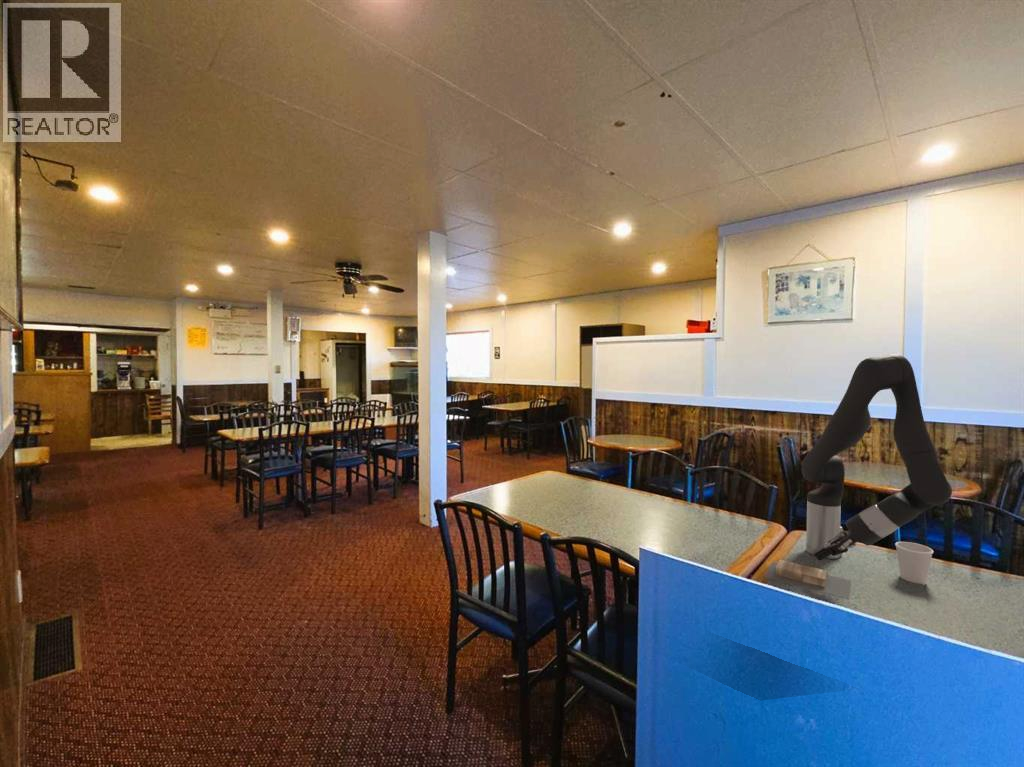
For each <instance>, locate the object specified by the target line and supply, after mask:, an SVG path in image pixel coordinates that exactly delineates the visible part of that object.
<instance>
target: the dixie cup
mask: <svg viewBox="0 0 1024 767" xmlns="http://www.w3.org/2000/svg"><path fill="white" fill-rule="evenodd" d="M894 545H895V547H896V554H897V562H898V563H897V564H898V569H899V570H898V571H899V577H900V578H901V579H903V580H904V581H907V582H910V583H913V584H920V585H921V584H922V585H923V586H926V585H927V581H928V577H929V576H928V575H929V573H930V567H931V562H932V557H933V554H934V550H933V549H932V548H931V547H928V546H926V545H924V544H920V543H916V542H910V541H896V543H894ZM925 584H926V585H925Z"/></svg>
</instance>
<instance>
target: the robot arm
mask: <svg viewBox="0 0 1024 767" xmlns="http://www.w3.org/2000/svg"><path fill="white" fill-rule="evenodd" d="M883 390H885V391H886V390H890V391H891V392H892V394H893V397H894V399H895V405H896V408H895V409H896V410H895V411H896V412H895V417H894V422H893V429H892V430H893V431H892V434H893V439H894V442H895V445H896V447H897V451H898V452H899V454H900V458H901V459H902V461H903V464H904V466H905V468H906V472H907V476H908V480H909V483H910V484H908V485H907V486H905V487H904V488H901V489H900V490H899V491H898V492H896V493H894V494H891V495H889V496H887V497H885V498H884V499H882V500H881V501H878V502H877V503H876V504H874V505H871V506H868V507H867V508H865V509H863V510H861V511H860V512H859V513H856V514H855V515H854V516H852V517H850V518H848V519H847V520H846V521H845V526H846V527H847V530H844V529H843V527H842V526H841V510H842V509H841V505H842V499H843V497H844V484H845V473H846V472H845V471H846V470H845V464H844V461H843V460H842V458H841V457H839V456H838V455H839V454H840V453H842V452H844V451H846V450H849V449H850V448H852V447H853V446H855V445H857V444H858V443H859V442H860V441H861V440H862V438H863V437H864V436H865V434H866V433H867V431H868V430H869V428H870V426H871V423H872V422H871V414H870V411H869V405H870V403H871V401H872V400H873V398H874V397H875V396H876V394H878V393H879V392H880V391H883ZM923 415H924V414H923V411H922V406H921V400H920V394H919V391H918V386H917V381H916V376H915V372H914V369H913V366H912V364H911V362H910V361H909V360H908V359H907V357H905V356H904V355H901V354H897V353H893V354H885V355H879V356H873V357H868V358H864V359H863V360H862V361H860V362H859V363H858V364H857V365H856V368H855V370H854V371H853V374H852V376H851V379H850V381H849V384H848V387H847V389H846V391H845V393H844V396H843V397H842V399H841V401H840V402H839V405H838V407H836V410H835V411H834V413H833V415H832V416H831V418H830V420H829V421H828V423H827V425H826V426H825V429H824V430H823V432H822V434H821V435H820V436H819V438H818V440H817V441H816V443H815V444H814V445H813V446H812V447H811V449H810V450H809V451H808V453H807V454H806V455H805V457H804V459H803V461H802V464H801V474H802V477H803V479H805V480H807V481H808V482H812V483H817V484H819V483H820V484H821V483H823V484H822V485H821V486H820V487H818V488H815V489H812V490H810V491H809V492H808V493H807V494H806V495H807V496H806V497H807V498H806V499H807V501H806V503H807V504H806V537H805V538H806V539H805V540H806V546H805V550H806V552H807V553H808V554H810V555H813V557H815V558H816V559H817V560H818V561H819V562H820V561H822V560H824V559H829V560H830V559H831V560H832V559H833V560H835V559H839V558H840V557H843V554H844V553H847V552H848V551H849V549H852V548H854V547H856V546H857V543H858V542H861V543H862V544H863V545H865V546H867V547H868V546H871V545H873V544H874V543H877V542H878V541H880V540H883V539H884V538H886V537H887V536H890V535H892V534H893V533H894V532H895V531H896V530H898V529H899V528H901V527H903V526H904V525H906V524H908V523H909V522H911V521H913V520H914V519H916V518H917V517H918V516H919V515H920V514H922V513H924V512H926V511H928V510H930V509H932V508H933V507H935V506H938V505H942V504H945V503H947V502H948V501H949V500H950V498H951V497H952V493H953V489H952V485H951V483H950V482H949V481H948V480H947V477H946V475H945V473H944V471H943V469H942V466H941V465H940V462H939V458H938V453H937V450H936V448H935V446H934V443H933V441H932V439H931V436H930V434H929V431H928V428H927V426H926V425H927V424H926V423H925V419H924V416H923Z"/></svg>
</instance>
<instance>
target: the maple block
mask: <svg viewBox="0 0 1024 767" xmlns="http://www.w3.org/2000/svg"><path fill="white" fill-rule="evenodd" d="M777 563H778V564H777V566H776V576H780V577H784V578H788V579H792V580H795V581H799V582H803V583H807V584H811V585H815V586H819V587H823V588H825V584H826V580H827V575H828V570H827V569H820V568H818V567H813V566H809V565H805V564H800V563H795V562H792V561H787V560H783V559H779V560H778V562H777Z"/></svg>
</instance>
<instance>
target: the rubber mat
mask: <svg viewBox="0 0 1024 767" xmlns="http://www.w3.org/2000/svg"><path fill="white" fill-rule="evenodd" d="M777 564H778V562H775V561H771V563H770V565H769V566H768V568H767V571H766V572H765V573H764V576H763V578H764V579H770V580H773V581H776V582H781V583H784V584H788V585H792V586H795V587H800V588H803V589H807V590H811V591H813V592H818V593H822V594H826V595H830V596H834V597H838V598H841V599H845V600H850V592H851V582H852V580H851V579H846V578H842V577H839V576H833V575H829V574H827V580H826V584H825V588H823V587H819V586H815V585H811V584H807V583H803V582H799V581H795V580H792V579H788V578H784V577H780V576H776V566H777Z"/></svg>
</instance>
